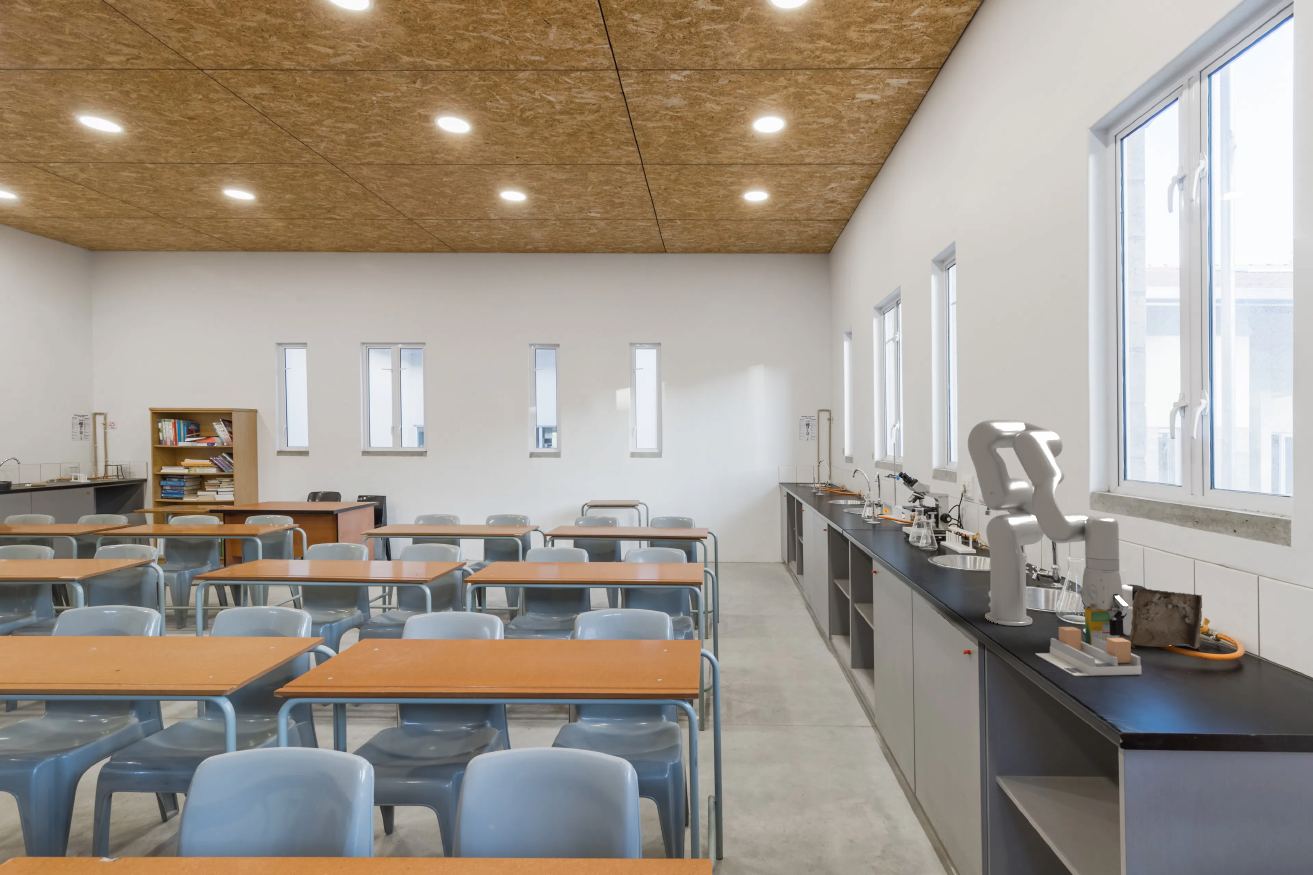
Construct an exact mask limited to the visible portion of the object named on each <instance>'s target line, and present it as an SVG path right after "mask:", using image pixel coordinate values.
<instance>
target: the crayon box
mask: <svg viewBox="0 0 1313 875" xmlns="http://www.w3.org/2000/svg"><path fill="white" fill-rule="evenodd" d="M1111 608H1114V607H1111ZM1116 613H1117V611H1115V612H1114V614H1116ZM1109 619H1111V617H1110V615H1109V613H1108V611H1102V610H1099V609H1096V608H1095V604H1090V608H1085V610H1084V624H1085V643H1087V644H1089V645H1092V637H1096V638H1098V639H1101V640H1103V641H1105V642H1106V638H1121V637H1120V636H1112V635H1110V624H1109Z"/></svg>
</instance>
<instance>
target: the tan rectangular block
mask: <svg viewBox="0 0 1313 875" xmlns="http://www.w3.org/2000/svg"><path fill="white" fill-rule="evenodd" d="M1058 640H1059V641H1061V642H1063V643H1065V644H1067V645H1069V646H1071V647H1073V648H1075V649H1077V650H1081V641H1082V630H1081V629H1080V628H1078V627H1074V626H1059V627H1058Z"/></svg>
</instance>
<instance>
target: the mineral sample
mask: <svg viewBox="0 0 1313 875" xmlns="http://www.w3.org/2000/svg"><path fill="white" fill-rule="evenodd" d="M1202 596H1203V594H1192V593H1185V592H1175V591H1169V590H1166V591H1165V590H1158V589H1157V590H1156V589H1151V588H1149V589H1148V588H1146V589H1140V590H1138V591H1137V593H1136V594H1135V598H1134V601H1133V605H1132V607H1133V612H1132V614H1133V618H1132V622H1131V625H1132V628H1131V634H1130V636H1128V639H1127V640H1128V641H1131V648H1133V649H1136V646H1143V647H1157V648H1158V647H1159V648H1169V645H1174V644H1189V645H1190V646H1192V647H1195V648H1198V647H1199V648H1200V646H1202V645H1201V640H1202V638H1201V631H1202V630H1201V625H1202V619H1203V618H1202V617H1203V615H1202V614H1203V612H1202V609H1203V599H1202V598H1203V597H1202Z"/></svg>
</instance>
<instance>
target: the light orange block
mask: <svg viewBox="0 0 1313 875" xmlns="http://www.w3.org/2000/svg"><path fill="white" fill-rule="evenodd" d="M1128 640H1129V639H1126V638H1124V637H1120V638H1106V652H1107V653H1109V654H1111V655H1113V656H1115V657H1117V658H1118V663H1130V662H1131V653H1132V646H1131V641H1128Z"/></svg>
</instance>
